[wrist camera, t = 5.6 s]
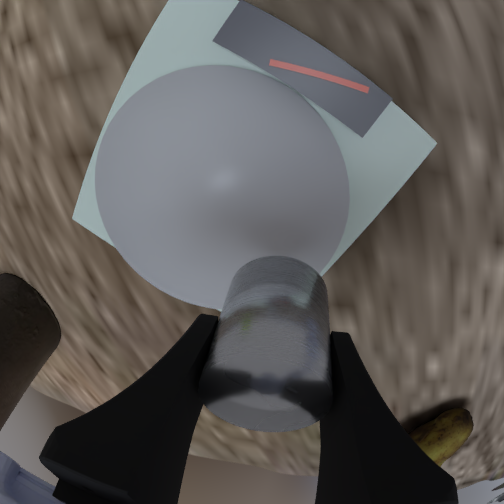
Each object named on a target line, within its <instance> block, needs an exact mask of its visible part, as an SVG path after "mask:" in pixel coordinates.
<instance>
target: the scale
mask: <svg viewBox="0 0 504 504" xmlns="http://www.w3.org/2000/svg"><path fill="white" fill-rule="evenodd" d="M436 144H437V142H436V141H435V140H434V139H433V138H432V137H431V136H430V135H429V134H427V133H426V132H425V131H424V130H423V129H422V128H421V127H420V126H419V125H418V124H417V123H416V122H415V121H414V120H413V119H411V118H410V117H409V116H408V115H407V114H406V113H405V112H404V111H403V110H401V109H400V108H399V107H398V106H397V105H396V104H394V103H393V102H392V98H391V97H390V96H389V95H388V94H386V93H385V92H384V91H383V90H382V89H380V88H379V87H378V86H377V85H375V84H374V83H373V82H372V81H370V80H369V79H368V78H367V77H365V76H364V75H363V74H361V73H360V72H359V71H357V70H356V69H355V68H353V67H352V66H351V65H349V64H348V63H346V62H345V61H344V60H342V59H341V58H339V57H338V56H337V55H335V54H334V53H332V52H331V51H329V50H328V49H326V48H325V47H323V46H322V45H320V44H319V43H317V42H316V41H314V40H313V39H311V38H309V37H308V36H306V35H305V34H303V33H301V32H300V31H298V30H296V29H295V28H293V27H291V26H290V25H288V24H286V23H285V22H283V21H281V20H279V19H277V18H276V17H274V16H272V15H270V14H268V13H267V12H265V11H263V10H261V9H259V8H257V7H255V6H253V5H251V4H249V3H247V2H245V1H243V0H240V1H237V0H169V1H168V2H167V4H166V6H165V7H164V9H163V10H162V12H161V14H160V15H159V17H158V18H157V20H156V22H155V23H154V25H153V27H152V29H151V30H150V32H149V34H148V36H147V37H146V39H145V41H144V43H143V45H142V46H141V48H140V50H139V52H138V54H137V56H136V58H135V59H134V61H133V63H132V65H131V67H130V69H129V71H128V73H127V75H126V77H125V79H124V81H123V84H122V86H121V88H120V90H119V92H118V94H117V96H116V99H115V101H114V103H113V105H112V108H111V110H110V112H109V115H108V117H107V119H106V122H105V124H104V127H103V129H102V132H101V134H100V137H99V139H98V142H97V144H96V147H95V150H94V152H93V155H92V158H91V161H90V164H89V166H88V169H87V172H86V175H85V178H84V181H83V184H82V187H81V191H80V194H79V197H78V200H77V204H76V207H75V211H74V214H73V218H72V219H73V220H75V221H76V222H78V223H79V224H81V225H82V226H84V227H85V228H87V229H88V230H90V231H91V232H93V233H94V234H96V235H97V236H99V237H100V238H102V239H103V240H105V241H106V242H108V243H109V244H111V245H112V246H114V247H115V248H116V249H117V250H118V252H119V253H120V254H121V255H122V257H123V258H124V259H125V261H126V262H127V263H128V264H129V265H130V266H131V267H132V268H133V269H134V270H135V271H136V272H137V273H138V274H139V275H140V276H142V277H143V278H144V279H145V280H146V281H148V282H149V283H151V284H152V285H154V286H155V287H156V288H158V289H159V290H161V291H163V292H165V293H167V294H169V295H171V296H173V297H175V298H177V299H180V300H182V301H185V302H188V303H191V304H194V305H198V306H202V307H207V308H213V309H217V310H219V311H222V308H223V305H224V302H225V299H226V296H227V293H228V290H229V287H230V284H231V281H232V279H233V277H234V275H235V274H236V272H237V271H238V270H239V269H240V268H241V267H242V266H244V265H245V264H247V263H248V262H250V261H252V260H255V259H257V258H261V257H265V256H287V257H292V258H295V259H298V260H301V261H303V262H305V263H306V264H308V265H309V266H311V267H312V268H313V269H315V270H316V271H317V272H318V273H319V275H320V276H321V277H322V276H323V274H324V273H325V272H326V271H327V270H328V269H329V268H330V267H331V266H332V265H333V264H334V263H335V262H336V261H337V260H338V258H339V257H340V256H341V255H342V254H343V253H344V252H345V251H346V250H347V249H348V248H349V246H350V245H351V244H352V243H353V242H354V241H355V240H356V239H357V238H358V237H359V235H360V234H361V233H362V232H363V231H364V230H365V229H366V228H367V226H368V225H369V224H370V223H371V222H372V221H373V220H374V219H375V217H376V216H377V215H378V214H379V213H380V212H381V210H382V209H383V208H384V207H385V206H386V205H387V204H388V202H389V201H390V200H391V199H392V198H393V197H394V195H395V194H396V193H397V192H398V191H399V189H400V188H401V187H402V186H403V185H404V184H405V182H406V181H407V180H408V179H409V178H410V176H411V175H412V174H413V173H414V171H415V170H416V169H417V168H418V167H419V165H420V164H421V163H422V162H423V160H424V159H425V158H426V157H427V156H428V154H429V153H430V152H431V151H432V149H433V148H434V147H435V145H436Z"/></svg>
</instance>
